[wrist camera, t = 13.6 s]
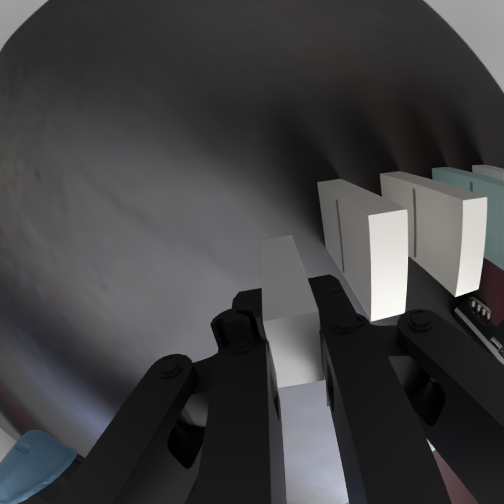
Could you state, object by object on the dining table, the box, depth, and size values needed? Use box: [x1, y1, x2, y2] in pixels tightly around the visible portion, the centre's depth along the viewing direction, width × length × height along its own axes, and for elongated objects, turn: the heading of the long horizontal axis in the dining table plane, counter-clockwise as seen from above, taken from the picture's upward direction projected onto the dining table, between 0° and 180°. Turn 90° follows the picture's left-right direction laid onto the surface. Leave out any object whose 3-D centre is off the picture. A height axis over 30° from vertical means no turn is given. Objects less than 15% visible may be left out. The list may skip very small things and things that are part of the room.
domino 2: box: [380, 171, 487, 297], centre depth 15 cm, size 2×5×10 cm, turn 11°
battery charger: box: [452, 295, 504, 364], centre depth 18 cm, size 7×4×11 cm, turn 63°
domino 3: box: [432, 167, 504, 270], centre depth 15 cm, size 2×5×10 cm, turn 11°
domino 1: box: [317, 179, 408, 321], centre depth 16 cm, size 2×5×10 cm, turn 11°
